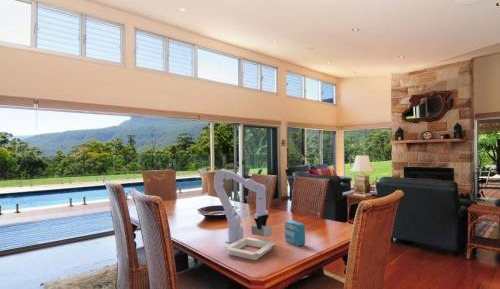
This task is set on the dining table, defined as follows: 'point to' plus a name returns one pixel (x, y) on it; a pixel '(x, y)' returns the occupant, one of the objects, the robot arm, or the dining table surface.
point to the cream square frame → (263, 244)
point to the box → (262, 230)
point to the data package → (295, 233)
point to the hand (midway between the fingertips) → (261, 228)
